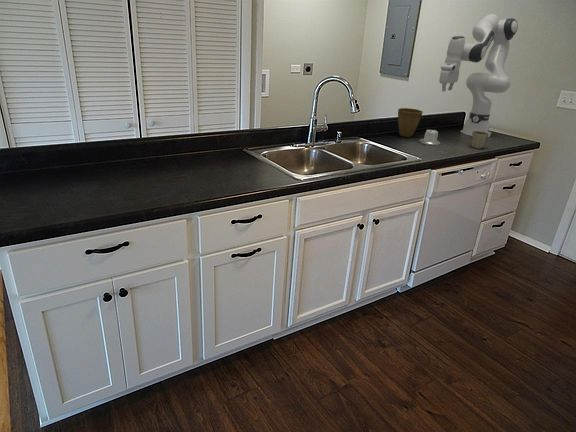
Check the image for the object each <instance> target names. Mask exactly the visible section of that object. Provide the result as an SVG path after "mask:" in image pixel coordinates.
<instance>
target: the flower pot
mask: <svg viewBox="0 0 576 432" xmlns="http://www.w3.org/2000/svg"><path fill="white" fill-rule="evenodd" d="M488 135H489V133H486V132H481V131H472V136H471V145H470V146H471V147H472V148H475V149H483V147H484V146H485V143H486V140H487V138H489V137H488Z"/></svg>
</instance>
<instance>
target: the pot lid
mask: <svg viewBox="0 0 576 432" xmlns="http://www.w3.org/2000/svg"><path fill="white" fill-rule="evenodd" d="M418 140H419V143H420V144H423V145H425V146H434V147H435V146H440V144H441V141H439V140H437V141H436V142H434V143H430V142H426V141H424V138H421V139H418Z"/></svg>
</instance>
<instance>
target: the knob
mask: <svg viewBox="0 0 576 432" xmlns="http://www.w3.org/2000/svg"><path fill="white" fill-rule="evenodd" d="M425 131H426V132H425V133H424V136H423V137H424V138H423V139H424V141H426V142H430V143H434V142H436V141H438V135H439V132H438V131H437V130H436V129H426V130H425Z"/></svg>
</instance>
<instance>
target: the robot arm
mask: <svg viewBox="0 0 576 432" xmlns="http://www.w3.org/2000/svg"><path fill="white" fill-rule="evenodd" d="M518 28H519V25H518V21H517V20H516V18H510V17H509V18H506V19H500V18H499V16H498V15H497V14H494V13H490V14H487V15H486V16H484V17H482V18H481V19H479V21H478V22H477V23H476V24H475V25H474V26H473V28H472V33H471V34H472V37H473V39H474V40H475V41H476V42H478V43H471V42H469V43H468V42H466V37H465V36H462V35H455V36H453V37H451V38H450V40H449V43H448V46H447V50H446V57H445V60H444V63H443V64H442V65H440V70H441V71H440V73H439V80H438V82H439V84H441V92H446V90H447V91H452V90H453V86H454V85H455V83H458V81H459V76H460V68H461V65H462V61H463V62H470V63H471V62H472V63H475V64H476V63H477V64H478V63H479V62H481V61H482V60H483V59H484V58H485V55H486V52H487V51H488V49H489V47H490V50H489V52H488V55H487V57H486V60H485V62H484V66H485V69H486V70H487V71H488V72H490V73H484V72H474V73H471V74H469V75H468V76H467V78H466V81H465V83H466V84H465V85H466V87H467V89H468V90H469V91H470V93H471V95H472V107H471V111H470V112H469V114H468V115H469V116H468V119H466V120H465V123H464V126H463V129H462V130H460V133H462V134H464V135H466V136H470V137H472V131H481V132H486V133H489V135H488V137H487V138H490V137H491V135H492V132H491V131H490V127H491V126H490V123H489V119H490V115H491V114H490V111H491V108H492V104H493V103H492V100H491V99H490V98H488V97H487V95H485V93H495V94H500V93H501V94H502V93H505V92H507V91H508V90H509V88H510V86H511V79H510V77H509V76H508V75H507V74H506V72H505V64H506V60H507V57H508V54H509V51H510V41H511V40H512V39H513V37H514V36H515V35H516V33H517V32H518ZM492 42H493V43H492ZM447 84H449V85H448V88H447Z"/></svg>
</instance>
